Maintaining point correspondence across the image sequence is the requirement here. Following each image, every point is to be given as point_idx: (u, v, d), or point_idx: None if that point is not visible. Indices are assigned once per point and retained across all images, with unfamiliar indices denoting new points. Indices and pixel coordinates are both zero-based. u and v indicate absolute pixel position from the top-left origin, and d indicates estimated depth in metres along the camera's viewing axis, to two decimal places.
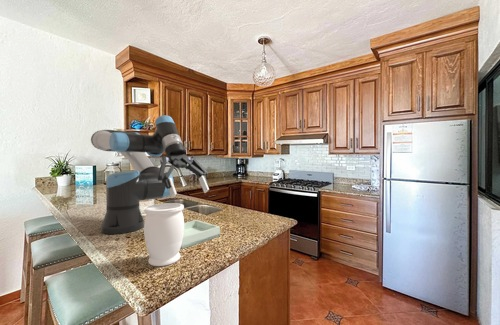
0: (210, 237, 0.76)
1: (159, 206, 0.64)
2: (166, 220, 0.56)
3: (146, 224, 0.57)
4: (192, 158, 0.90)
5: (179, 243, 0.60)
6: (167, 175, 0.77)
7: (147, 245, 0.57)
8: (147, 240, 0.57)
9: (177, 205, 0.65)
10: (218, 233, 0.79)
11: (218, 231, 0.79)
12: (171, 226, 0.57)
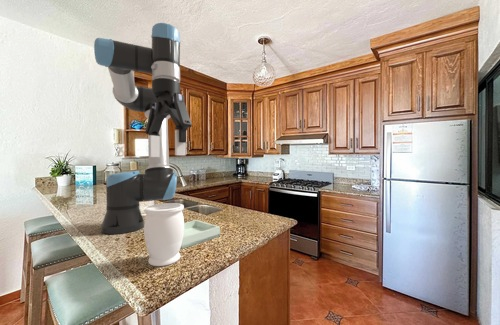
0: (210, 237, 0.76)
1: (159, 206, 0.64)
2: (166, 220, 0.56)
3: (146, 224, 0.57)
4: (174, 98, 0.58)
5: (179, 243, 0.60)
6: (149, 131, 0.66)
7: (147, 245, 0.57)
8: (147, 240, 0.57)
9: (177, 205, 0.65)
10: (218, 233, 0.79)
11: (218, 231, 0.79)
12: (171, 226, 0.57)
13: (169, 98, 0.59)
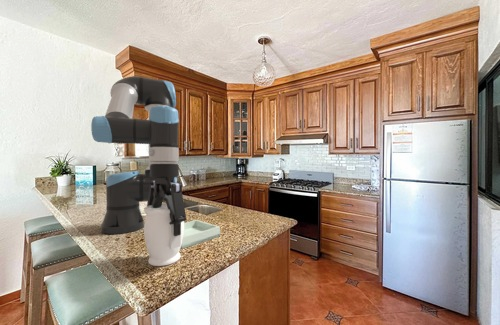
0: (210, 237, 0.76)
1: None
2: (166, 220, 0.56)
3: (146, 224, 0.57)
4: None
5: None
6: None
7: (147, 245, 0.57)
8: (147, 240, 0.57)
9: None
10: (218, 233, 0.79)
11: (218, 231, 0.79)
12: None
13: (167, 184, 0.58)
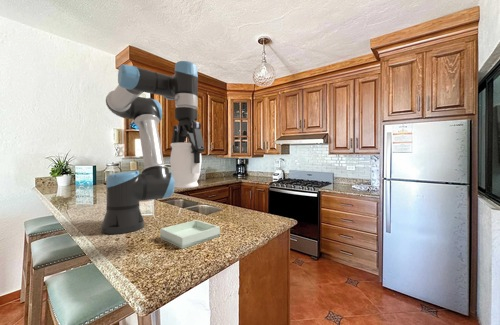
0: (210, 237, 0.76)
1: None
2: (188, 151, 0.71)
3: (172, 154, 0.71)
4: None
5: None
6: None
7: (173, 171, 0.72)
8: (173, 167, 0.71)
9: None
10: (218, 233, 0.79)
11: (218, 231, 0.79)
12: None
13: (189, 123, 0.72)
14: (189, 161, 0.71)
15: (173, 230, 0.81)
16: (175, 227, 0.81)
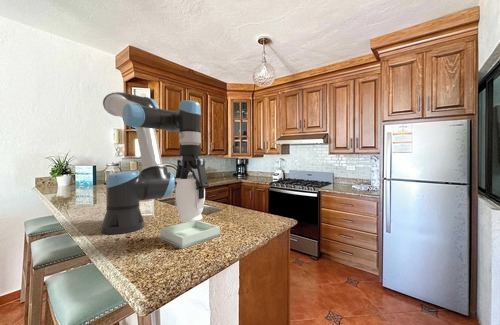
0: (210, 237, 0.76)
1: None
2: (193, 187, 0.74)
3: (178, 190, 0.75)
4: (197, 162, 0.74)
5: None
6: None
7: (178, 206, 0.75)
8: (178, 202, 0.74)
9: None
10: (218, 233, 0.79)
11: (218, 231, 0.79)
12: None
13: (193, 160, 0.76)
14: (194, 197, 0.74)
15: (173, 230, 0.81)
16: (175, 227, 0.81)
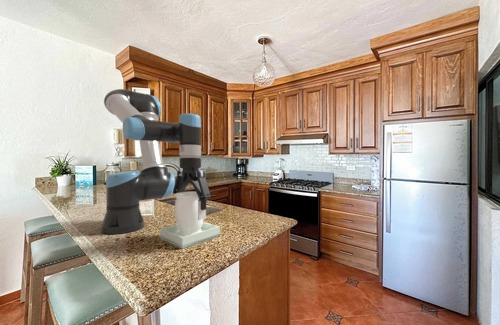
0: (210, 237, 0.76)
1: (184, 193, 0.83)
2: (192, 203, 0.74)
3: (177, 206, 0.75)
4: (197, 174, 0.74)
5: (201, 221, 0.78)
6: None
7: (178, 222, 0.75)
8: (178, 218, 0.75)
9: None
10: (218, 233, 0.79)
11: (218, 231, 0.79)
12: (196, 207, 0.75)
13: (193, 173, 0.76)
14: (193, 213, 0.74)
15: (173, 230, 0.81)
16: (175, 227, 0.81)
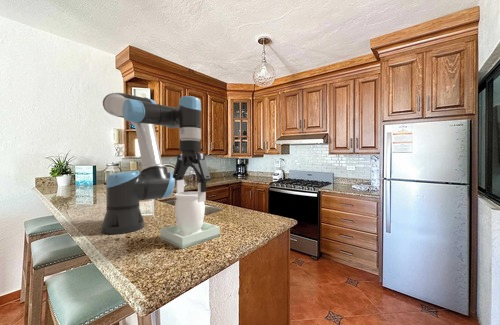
0: (210, 237, 0.76)
1: (184, 193, 0.83)
2: (192, 203, 0.74)
3: (177, 206, 0.75)
4: (197, 157, 0.74)
5: (201, 221, 0.78)
6: (176, 177, 0.83)
7: (178, 222, 0.75)
8: (178, 218, 0.75)
9: None
10: (218, 233, 0.79)
11: (218, 231, 0.79)
12: (196, 207, 0.75)
13: (193, 156, 0.76)
14: (193, 213, 0.74)
15: (173, 230, 0.81)
16: (175, 227, 0.81)
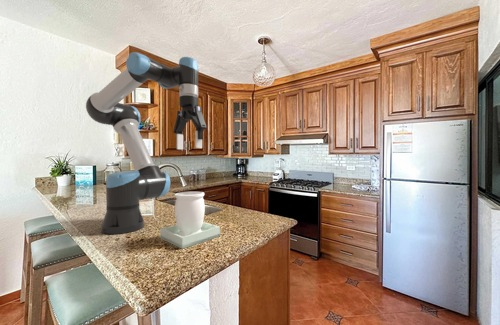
0: (210, 237, 0.76)
1: (184, 193, 0.83)
2: (192, 203, 0.74)
3: (177, 206, 0.75)
4: (194, 109, 0.85)
5: (201, 221, 0.78)
6: (176, 131, 0.94)
7: (178, 222, 0.75)
8: (178, 218, 0.75)
9: (198, 193, 0.83)
10: (218, 233, 0.79)
11: (218, 231, 0.79)
12: (196, 207, 0.75)
13: (191, 109, 0.87)
14: (193, 213, 0.74)
15: (173, 230, 0.81)
16: (175, 227, 0.81)
